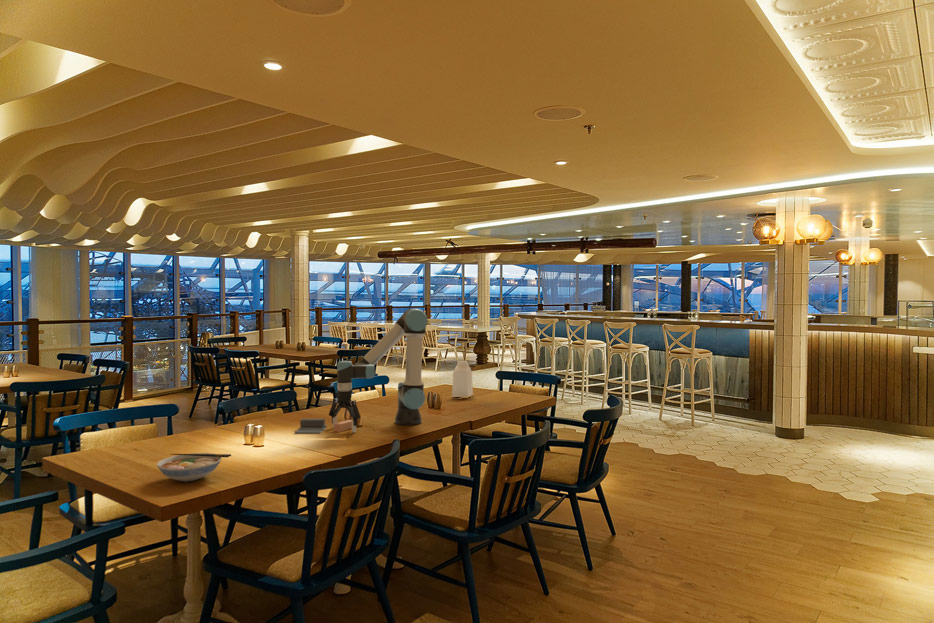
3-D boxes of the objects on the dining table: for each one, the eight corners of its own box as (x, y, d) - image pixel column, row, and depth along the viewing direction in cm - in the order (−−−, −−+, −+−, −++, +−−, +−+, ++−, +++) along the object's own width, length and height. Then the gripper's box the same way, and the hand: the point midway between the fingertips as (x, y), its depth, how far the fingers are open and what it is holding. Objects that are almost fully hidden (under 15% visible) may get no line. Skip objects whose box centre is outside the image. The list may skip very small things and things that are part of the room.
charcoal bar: (324, 428, 317) (324, 418, 317) (323, 429, 313) (323, 420, 313) (302, 428, 317) (302, 418, 317) (300, 429, 313) (300, 420, 313)
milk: (451, 397, 422) (452, 361, 421) (457, 395, 433) (457, 359, 432) (468, 398, 418) (468, 362, 418) (473, 396, 429) (473, 360, 429)
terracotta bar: (349, 428, 320) (349, 419, 320) (354, 429, 319) (354, 420, 318) (334, 433, 310) (334, 423, 310) (340, 434, 308) (340, 424, 308)
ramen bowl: (140, 486, 220) (139, 464, 220) (179, 469, 243) (179, 449, 242) (201, 490, 216) (201, 468, 216) (235, 472, 239) (235, 452, 238)
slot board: (326, 428, 319) (326, 424, 319) (320, 435, 303) (320, 431, 303) (302, 428, 319) (302, 424, 319) (294, 435, 303) (294, 431, 303)
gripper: (322, 389, 316) (321, 429, 317) (358, 393, 305) (358, 434, 305) (331, 387, 323) (331, 426, 323) (367, 391, 311) (367, 431, 312)
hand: (344, 430), depth 314 cm, fingers open, 12 cm apart
